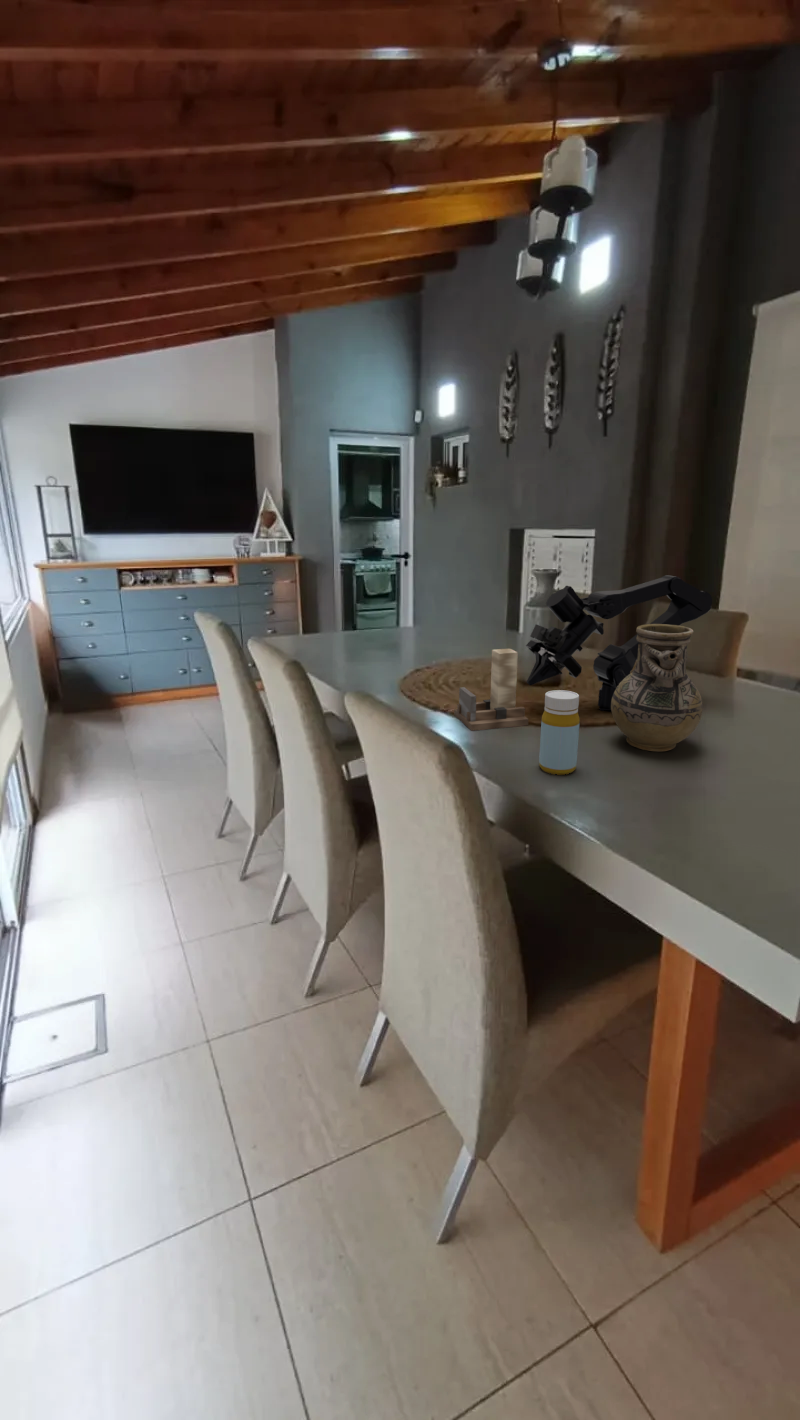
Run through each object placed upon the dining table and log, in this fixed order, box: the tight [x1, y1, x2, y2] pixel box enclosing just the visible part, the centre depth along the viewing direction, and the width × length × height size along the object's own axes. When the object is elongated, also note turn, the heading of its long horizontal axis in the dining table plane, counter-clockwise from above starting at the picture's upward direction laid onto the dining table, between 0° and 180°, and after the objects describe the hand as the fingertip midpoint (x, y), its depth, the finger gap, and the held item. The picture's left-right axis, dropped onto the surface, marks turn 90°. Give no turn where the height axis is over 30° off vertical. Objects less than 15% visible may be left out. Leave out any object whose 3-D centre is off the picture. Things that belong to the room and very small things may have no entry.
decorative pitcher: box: [610, 623, 704, 753], centre depth 133 cm, size 22×18×25 cm
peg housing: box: [453, 686, 529, 732], centre depth 152 cm, size 14×12×8 cm
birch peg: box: [489, 648, 519, 710], centre depth 152 cm, size 4×4×15 cm
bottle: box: [538, 689, 580, 776], centre depth 123 cm, size 7×7×15 cm
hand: (528, 683), depth 153 cm, fingers closed
